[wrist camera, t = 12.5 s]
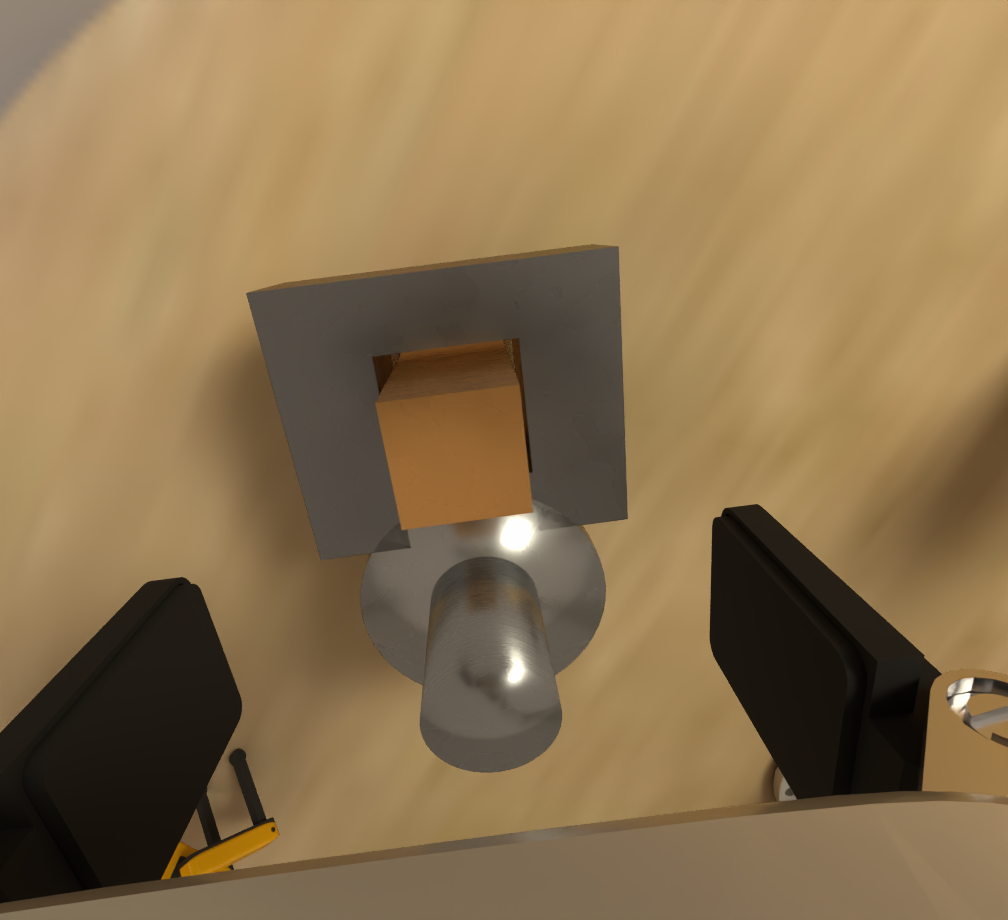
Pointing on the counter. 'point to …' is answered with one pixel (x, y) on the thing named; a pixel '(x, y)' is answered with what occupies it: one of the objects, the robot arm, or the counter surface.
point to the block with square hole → (472, 544)
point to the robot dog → (228, 849)
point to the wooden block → (455, 435)
